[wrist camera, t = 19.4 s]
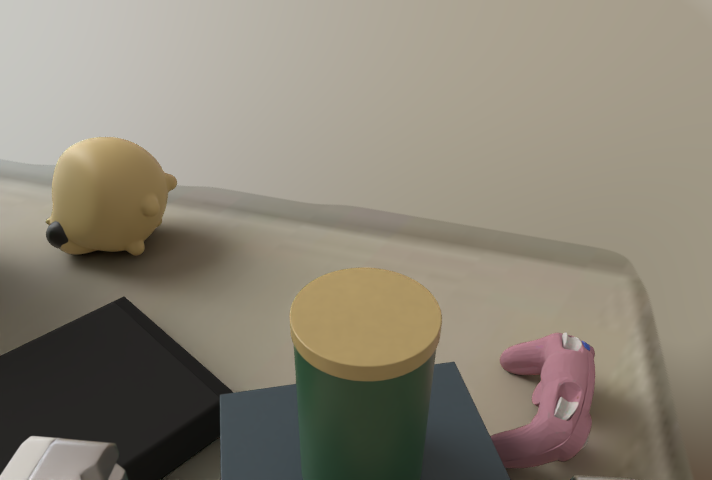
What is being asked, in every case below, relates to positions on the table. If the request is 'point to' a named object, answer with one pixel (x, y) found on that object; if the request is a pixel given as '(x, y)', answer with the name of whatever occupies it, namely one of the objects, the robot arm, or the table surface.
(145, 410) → the external hard drive
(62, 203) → the toy pig
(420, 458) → the tea tin
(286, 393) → the storage box
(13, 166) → the table surface
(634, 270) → the table surface
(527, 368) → the video game controller
